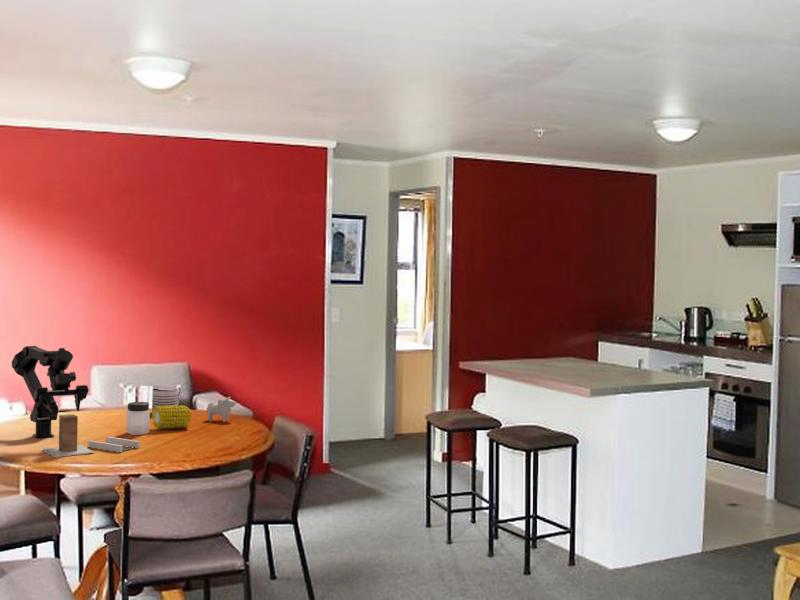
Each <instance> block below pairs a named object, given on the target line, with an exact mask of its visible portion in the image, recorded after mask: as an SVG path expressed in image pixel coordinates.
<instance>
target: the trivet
mask: <svg viewBox="0 0 800 600" xmlns="http://www.w3.org/2000/svg"><path fill="white" fill-rule="evenodd" d="M43 450H44V451H45V453H46V452H47V453H48V454H47V453H46V454H47V455H49V454H50V455H51V456H50V455H49V456H50V457H51V458H53V457H56V458H63V457H62V456H66V457H72V456H71V455H75V456H81V455H82V454H85V455H90V454H89V453H94V454H95V452H94V451H93V450H91V448H88V447H86V446H84V445H83V444H77V451H71V452H62V451H60V450H59V446H57V447H46V448H42V451H43ZM44 451H43V452H44ZM82 456H83V455H82Z"/></svg>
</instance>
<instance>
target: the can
mask: <svg viewBox="0 0 800 600" xmlns="http://www.w3.org/2000/svg"><path fill="white" fill-rule="evenodd" d="M151 391H152V394H151V395H152V400H151V402H152V403H151V412H152V411H153V409H154V408H155V407H156V406H169V405H170V406H172V405H173V406H175V405H177V406H179V405H178V403H179V402H178V401H179V400H178V399H179V397H178V396H179V389H178V387H176V386H175V387H174V386H171V385H153V386H152V390H151Z"/></svg>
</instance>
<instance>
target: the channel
mask: <svg viewBox="0 0 800 600" xmlns="http://www.w3.org/2000/svg"><path fill="white" fill-rule="evenodd" d="M122 445H123V446H122ZM126 446H128V447H126ZM140 446H141V441H140V440H135V439H134V440H133V439H127V438H119V437H114V436H105V442H104V441H103V442H102V441H96V440H92V439H91V440H87V448H88V447H91V448H90V449H94V448H98V449H97V450H100V449H103V450H102V451H106V450H109V451H108V452H113V451H116V452H115V453H119V452H121V453H123V451H124V452H127V451H126V450H128V451H131V450H130V449H132V450H135V449H141V448H140ZM132 447H135V449H134V448H132Z"/></svg>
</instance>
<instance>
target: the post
mask: <svg viewBox="0 0 800 600" xmlns="http://www.w3.org/2000/svg"><path fill="white" fill-rule="evenodd" d="M58 417H59V418H58V421H59V422H58V447H59V450H60V451H62V452H71V451H77V445H78V421H79V419H78V415H76V414H61V415H60V414H59V415H58Z"/></svg>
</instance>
